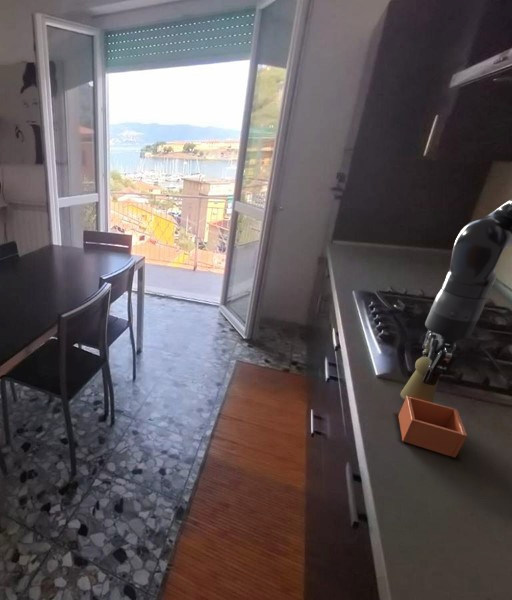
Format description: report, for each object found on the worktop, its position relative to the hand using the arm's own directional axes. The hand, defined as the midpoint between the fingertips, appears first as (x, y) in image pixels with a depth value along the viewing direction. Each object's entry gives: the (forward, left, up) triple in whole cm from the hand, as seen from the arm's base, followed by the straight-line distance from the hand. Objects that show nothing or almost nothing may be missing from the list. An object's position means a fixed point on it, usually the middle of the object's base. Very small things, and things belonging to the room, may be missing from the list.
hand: (426, 376), depth 82 cm
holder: (+9, +6, -8) cm, 14 cm away
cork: (0, 0, -7) cm, 7 cm away
